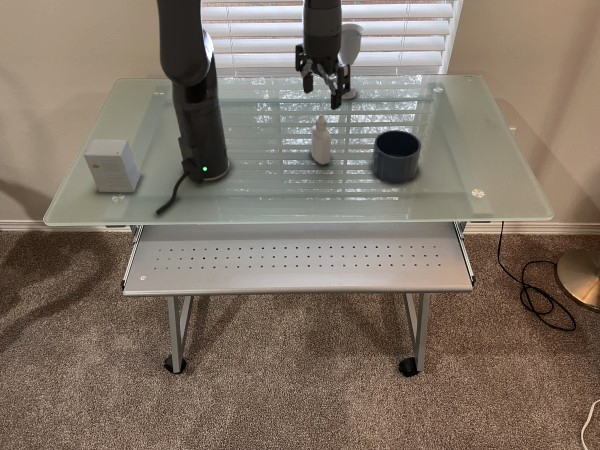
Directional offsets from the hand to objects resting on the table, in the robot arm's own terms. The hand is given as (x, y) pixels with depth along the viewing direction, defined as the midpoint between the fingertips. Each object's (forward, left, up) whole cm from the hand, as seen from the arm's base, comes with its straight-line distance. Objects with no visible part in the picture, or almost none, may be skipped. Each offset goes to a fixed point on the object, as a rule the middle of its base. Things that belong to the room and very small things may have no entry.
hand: (321, 100), depth 107 cm
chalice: (+24, +16, -16) cm, 33 cm away
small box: (-40, +23, -16) cm, 49 cm away
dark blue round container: (+10, -14, -16) cm, 23 cm away
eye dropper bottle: (0, 0, -16) cm, 16 cm away
